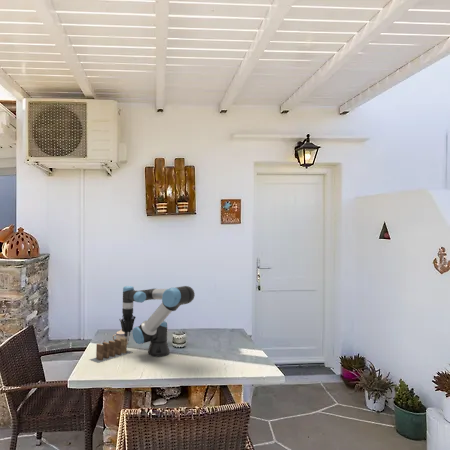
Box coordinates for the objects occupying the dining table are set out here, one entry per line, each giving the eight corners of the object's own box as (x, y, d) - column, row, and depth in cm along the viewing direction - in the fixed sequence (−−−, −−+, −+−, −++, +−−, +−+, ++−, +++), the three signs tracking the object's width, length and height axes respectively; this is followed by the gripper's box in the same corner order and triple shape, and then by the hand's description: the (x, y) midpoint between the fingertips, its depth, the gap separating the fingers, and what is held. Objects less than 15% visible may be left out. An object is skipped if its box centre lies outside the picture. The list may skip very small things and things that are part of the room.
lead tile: (124, 353, 297) (124, 339, 297) (119, 352, 300) (120, 338, 300) (126, 352, 298) (126, 338, 298) (121, 351, 301) (122, 337, 301)
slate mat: (133, 353, 300) (133, 352, 300) (98, 363, 276) (98, 362, 276) (124, 350, 306) (124, 349, 306) (88, 360, 282) (88, 359, 282)
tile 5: (98, 358, 285) (98, 343, 285) (103, 359, 282) (103, 344, 282) (96, 359, 284) (96, 344, 284) (100, 360, 281) (101, 345, 281)
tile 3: (110, 354, 293) (110, 340, 293) (115, 356, 290) (115, 341, 290) (108, 355, 292) (108, 341, 292) (113, 356, 289) (113, 342, 289)
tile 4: (104, 356, 289) (104, 342, 289) (109, 358, 286) (109, 343, 286) (102, 357, 288) (102, 342, 288) (107, 358, 285) (107, 343, 285)
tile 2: (116, 353, 297) (116, 338, 297) (120, 354, 294) (121, 340, 294) (114, 353, 296) (114, 339, 296) (118, 355, 293) (119, 340, 293)
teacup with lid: (129, 342, 325) (129, 327, 325) (125, 346, 316) (126, 330, 316) (114, 342, 326) (114, 327, 326) (110, 345, 317) (110, 330, 317)
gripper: (131, 305, 309) (130, 338, 310) (117, 308, 299) (116, 341, 299) (138, 307, 305) (137, 340, 305) (123, 310, 295) (123, 343, 295)
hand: (127, 340), depth 302 cm, fingers closed
